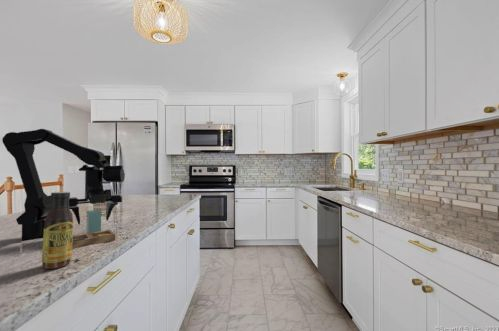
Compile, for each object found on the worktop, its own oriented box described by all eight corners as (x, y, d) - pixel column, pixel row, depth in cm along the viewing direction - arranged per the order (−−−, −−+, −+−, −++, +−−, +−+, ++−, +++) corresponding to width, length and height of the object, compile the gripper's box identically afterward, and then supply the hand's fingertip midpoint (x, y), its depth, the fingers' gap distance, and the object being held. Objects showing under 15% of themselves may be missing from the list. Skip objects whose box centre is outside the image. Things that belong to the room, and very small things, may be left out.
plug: (88, 236, 88) (88, 212, 88) (86, 233, 90) (86, 210, 90) (100, 234, 90) (101, 211, 90) (98, 231, 93) (98, 209, 93)
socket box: (65, 250, 73) (66, 241, 73) (62, 244, 79) (63, 236, 79) (115, 241, 83) (115, 233, 83) (109, 236, 89) (109, 228, 89)
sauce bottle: (46, 272, 58) (47, 194, 58) (37, 267, 62) (38, 192, 62) (77, 263, 64) (77, 191, 64) (67, 258, 67) (68, 190, 67)
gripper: (66, 184, 78) (66, 231, 78) (126, 182, 91) (126, 222, 91) (62, 183, 86) (62, 224, 86) (118, 181, 99) (117, 217, 99)
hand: (93, 222), depth 90 cm, fingers open, 9 cm apart
